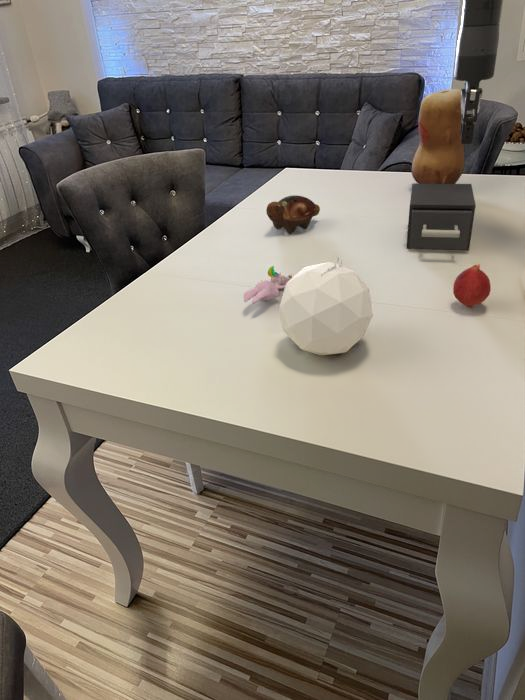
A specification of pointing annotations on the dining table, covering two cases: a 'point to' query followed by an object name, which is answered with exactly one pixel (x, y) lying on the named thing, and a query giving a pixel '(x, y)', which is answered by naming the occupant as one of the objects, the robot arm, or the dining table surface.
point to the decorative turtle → (292, 212)
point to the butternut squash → (439, 139)
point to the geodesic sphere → (325, 308)
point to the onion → (472, 286)
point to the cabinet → (441, 202)
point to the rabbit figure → (267, 287)
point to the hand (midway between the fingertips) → (465, 139)
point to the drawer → (440, 228)
